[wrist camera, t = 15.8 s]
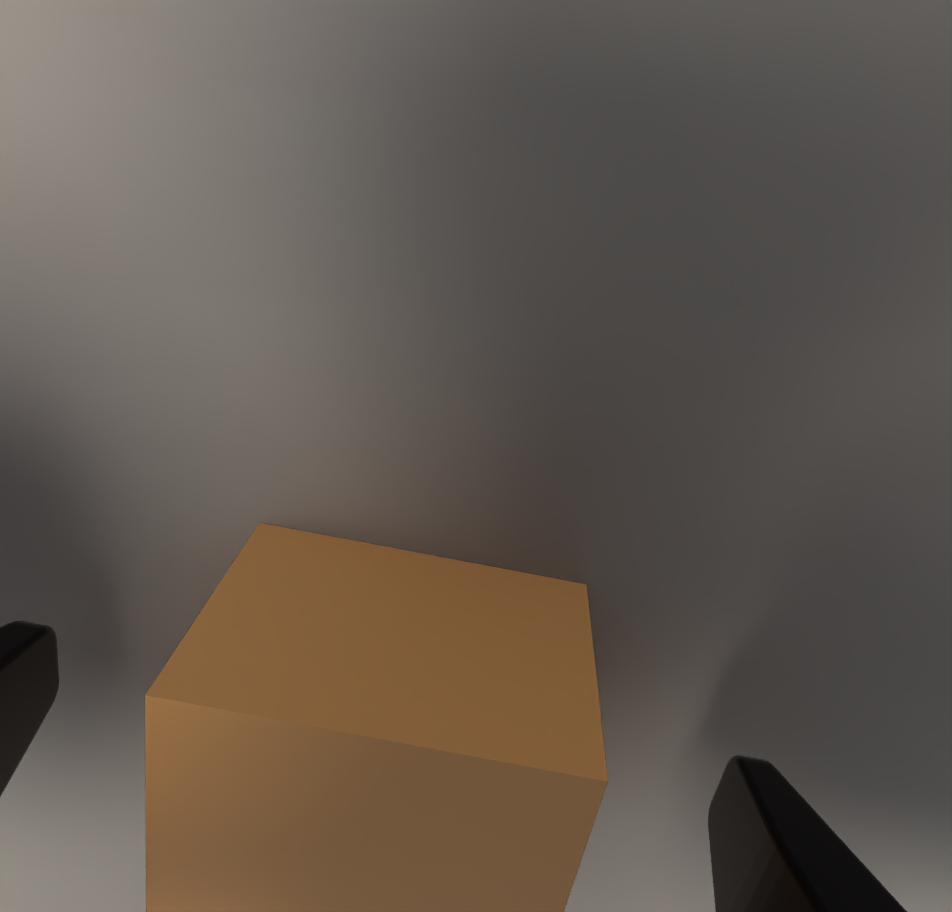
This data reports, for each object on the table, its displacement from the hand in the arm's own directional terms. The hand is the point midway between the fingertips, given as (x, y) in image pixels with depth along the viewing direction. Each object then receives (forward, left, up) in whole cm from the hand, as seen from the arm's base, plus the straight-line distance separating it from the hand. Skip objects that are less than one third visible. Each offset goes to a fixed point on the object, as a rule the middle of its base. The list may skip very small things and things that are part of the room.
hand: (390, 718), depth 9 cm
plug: (-5, 0, -1) cm, 5 cm away
